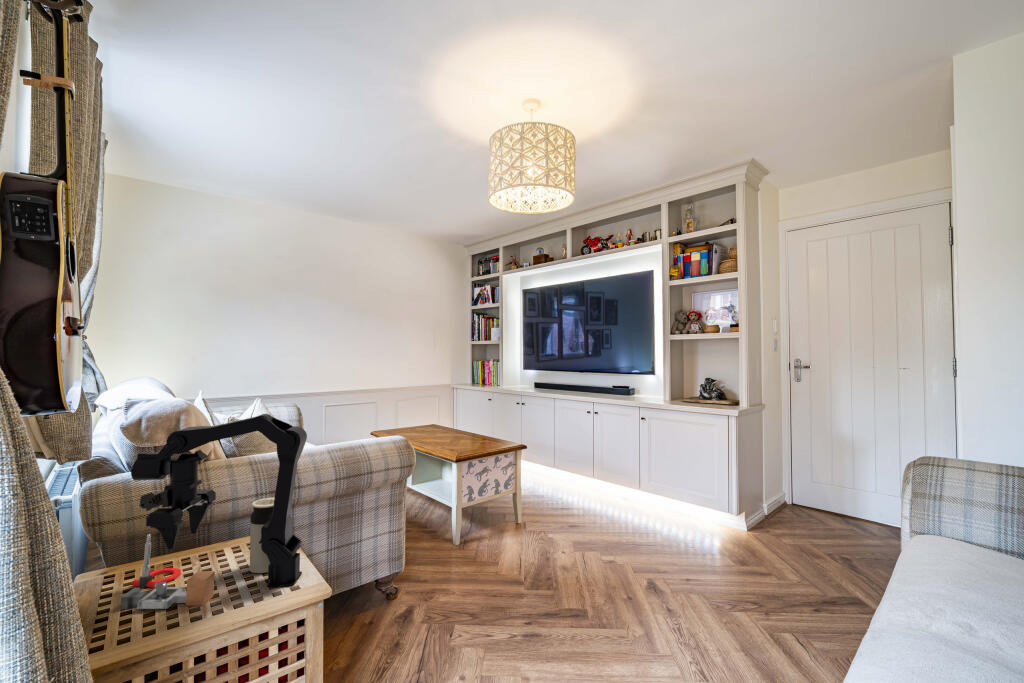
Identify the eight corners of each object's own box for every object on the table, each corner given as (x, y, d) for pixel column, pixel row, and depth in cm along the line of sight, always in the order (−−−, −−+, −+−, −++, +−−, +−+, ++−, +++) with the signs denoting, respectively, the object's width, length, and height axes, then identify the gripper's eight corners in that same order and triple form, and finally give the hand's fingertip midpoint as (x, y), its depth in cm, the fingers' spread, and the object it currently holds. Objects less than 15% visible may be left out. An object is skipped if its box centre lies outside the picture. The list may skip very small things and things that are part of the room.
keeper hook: (171, 597, 108) (171, 579, 108) (159, 607, 104) (160, 587, 104) (133, 599, 107) (134, 580, 107) (120, 609, 103) (121, 589, 103)
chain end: (216, 593, 110) (217, 568, 110) (200, 608, 104) (202, 582, 104) (156, 593, 109) (158, 568, 109) (137, 609, 102) (139, 582, 102)
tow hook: (161, 570, 122) (127, 586, 113) (165, 522, 123) (131, 534, 114) (188, 573, 121) (156, 589, 112) (191, 524, 122) (160, 537, 112)
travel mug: (267, 575, 119) (268, 507, 119) (242, 572, 120) (243, 505, 121) (288, 562, 126) (290, 498, 127) (265, 558, 128) (266, 495, 129)
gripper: (173, 469, 121) (172, 527, 120) (120, 490, 102) (119, 559, 102) (217, 468, 122) (216, 526, 122) (173, 489, 103) (171, 557, 103)
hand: (182, 540), depth 112 cm, fingers open, 9 cm apart
